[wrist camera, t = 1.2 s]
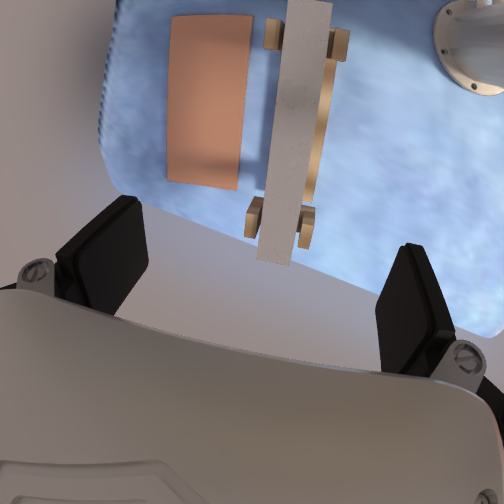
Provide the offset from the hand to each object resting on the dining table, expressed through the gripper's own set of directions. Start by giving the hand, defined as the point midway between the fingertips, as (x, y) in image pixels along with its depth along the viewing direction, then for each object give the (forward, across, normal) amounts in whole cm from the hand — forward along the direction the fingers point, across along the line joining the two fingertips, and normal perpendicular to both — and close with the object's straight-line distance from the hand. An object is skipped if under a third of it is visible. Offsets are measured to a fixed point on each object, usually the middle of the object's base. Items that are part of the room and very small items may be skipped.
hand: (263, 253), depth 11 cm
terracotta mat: (+29, +12, -1) cm, 31 cm away
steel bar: (+17, 0, 0) cm, 17 cm away
